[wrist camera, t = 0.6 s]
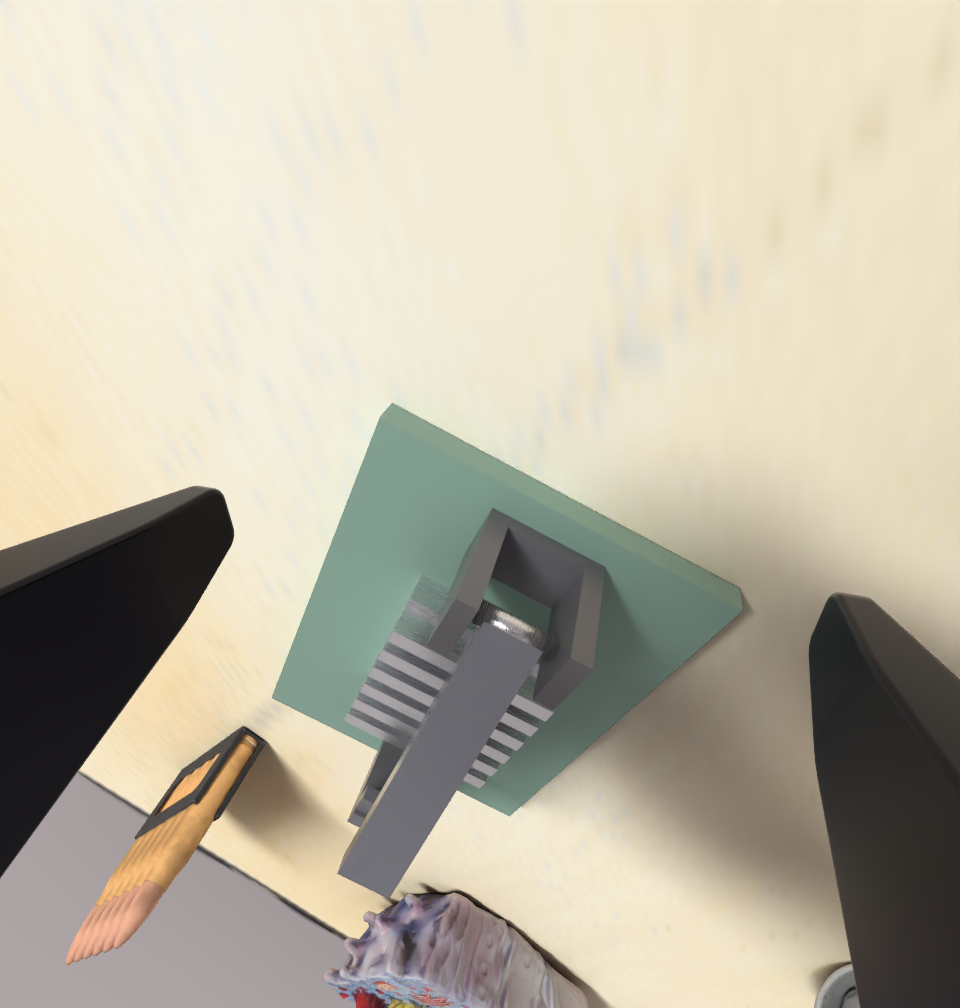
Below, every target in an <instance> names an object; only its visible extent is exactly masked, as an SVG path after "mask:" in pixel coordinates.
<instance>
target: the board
mask: <svg viewBox="0 0 960 1008" xmlns="http://www.w3.org/2000/svg"><path fill="white" fill-rule="evenodd" d="M492 508H495V509H497V510H498V511H500V512H502V513H504V514H506V515H508V516H510V517H512V518H514V519H515V520H517V521H519V522H521V523H523V524H525V525H527V526H529V527H531V528H533V529H534V530H536V531H538V532H540V533H542V534H544V535H546V536H548V537H550V538H551V539H553V540H555V541H557V542H559V543H561V544H563V545H565V546H567V547H569V548H570V549H572V550H574V551H576V552H578V553H580V554H582V555H584V556H586V557H587V558H589V559H591V560H593V561H595V562H597V563H599V564H601V565H603V566H605V574H604V583H603V591H602V599H601V608H600V616H599V624H598V633H597V641H596V649H595V658H594V666H593V670H592V671H591V672H590V673H589V674H588V675H587V676H586V677H585V678H584V679H583V680H582V682H581V683H580V684H579V685H578V686H577V687H576V688H575V689H574V690H573V691H572V692H571V693H570V694H569V695H568V696H567V697H566V698H565V699H564V700H563V701H562V702H561V703H560V704H559V705H558V706H557V707H556V708H555V709H554V713H553V714H552V715H551V716H550V718H549V719H548V720H547V721H546V722H545V721H543V720H541V719H540V723H539V728H538V730H537V731H536V732H535V733H534V734H533V735H532V736H531V737H530V736H528V735H526V736H525V741H524V744H523V745H522V746H521V747H520V748H519V749H518V750H517V751H516V750H514V749H512V753H511V757H510V758H509V759H508V760H507V761H506V762H505V763H504V764H502V763H499V767H498V770H497V771H496V772H495V773H494V774H493V775H492V776H489V775H488V776H487V780H486V783H485V784H484V785H483V786H482V787H481V788H480V789H479V788H477V787H475V786H473V785H471V784H469V783H467V782H465V781H462V782H461V784H460V786H459V787H458V789H457V790H458V791H460V792H462V793H464V794H466V795H468V796H470V797H472V798H474V799H476V800H478V801H480V802H482V803H484V804H486V805H488V806H490V807H492V808H494V809H496V810H498V811H500V812H502V813H504V814H506V815H508V816H511V815H512V814H513V813H514V812H515V811H516V810H517V809H518V808H520V807H521V806H522V805H523V804H524V803H525V802H526V801H528V800H529V799H530V798H531V797H532V796H533V795H534V794H536V793H537V792H538V791H539V790H540V789H541V788H542V787H543V786H545V785H546V784H547V783H548V782H549V781H550V780H551V779H553V778H554V777H555V776H556V775H557V774H558V773H559V772H560V771H562V770H563V769H564V768H565V767H566V766H567V765H568V764H570V763H571V762H572V761H573V760H574V759H575V758H576V757H577V756H579V755H580V754H581V753H582V752H583V751H584V750H585V749H587V748H588V747H589V746H590V745H591V744H592V743H593V742H595V741H596V740H597V739H598V738H599V737H600V736H601V735H602V734H604V733H605V732H606V731H607V730H608V729H609V728H610V727H612V726H613V725H614V724H615V723H616V722H617V721H618V720H619V719H621V718H622V717H623V716H624V715H625V714H626V713H627V712H629V711H630V710H631V709H632V708H633V707H634V706H635V705H636V704H638V703H639V702H640V701H641V700H642V699H643V698H644V697H646V696H647V695H648V694H649V693H650V692H651V691H652V690H653V689H655V688H656V687H657V686H658V685H659V684H660V683H661V682H663V681H664V680H665V679H666V678H667V677H668V676H669V675H671V674H672V673H673V672H674V671H675V670H676V669H677V668H678V667H680V666H681V665H682V664H683V663H684V662H685V661H686V660H688V659H689V658H690V657H691V656H692V655H693V654H694V653H695V652H697V651H698V650H699V649H700V648H701V647H702V646H703V645H705V644H706V643H707V642H708V641H709V640H710V639H711V638H712V637H714V636H715V635H716V634H717V633H718V632H719V631H720V630H722V629H723V628H724V627H725V626H726V625H727V624H728V623H730V622H731V621H732V620H733V619H734V618H735V617H736V616H737V615H739V614H740V613H741V612H742V611H743V604H742V598H741V591H740V588H738V587H736V586H734V585H732V584H731V583H729V582H727V581H725V580H723V579H721V578H719V577H717V576H716V575H714V574H712V573H710V572H708V571H706V570H704V569H702V568H700V567H699V566H697V565H695V564H693V563H691V562H689V561H687V560H685V559H684V558H682V557H680V556H678V555H676V554H674V553H672V552H670V551H669V550H667V549H665V548H663V547H661V546H659V545H657V544H655V543H654V542H652V541H650V540H648V539H646V538H644V537H642V536H640V535H639V534H637V533H635V532H633V531H631V530H629V529H627V528H625V527H624V526H622V525H620V524H618V523H616V522H614V521H612V520H610V519H609V518H607V517H605V516H603V515H601V514H599V513H597V512H595V511H593V510H592V509H590V508H588V507H586V506H584V505H582V504H580V503H578V502H577V501H575V500H573V499H571V498H569V497H567V496H565V495H563V494H562V493H560V492H558V491H556V490H554V489H552V488H550V487H548V486H547V485H545V484H543V483H541V482H539V481H537V480H535V479H533V478H532V477H530V476H528V475H526V474H524V473H522V472H520V471H518V470H517V469H515V468H513V467H511V466H509V465H507V464H505V463H503V462H502V461H500V460H498V459H496V458H494V457H492V456H490V455H488V454H487V453H485V452H483V451H481V450H479V449H477V448H475V447H473V446H471V445H470V444H468V443H466V442H464V441H462V440H460V439H458V438H456V437H455V436H453V435H451V434H449V433H447V432H445V431H443V430H441V429H440V428H438V427H436V426H434V425H432V424H430V423H428V422H426V421H425V420H423V419H421V418H419V417H417V416H415V415H413V414H411V413H410V412H408V411H406V410H404V409H402V408H400V407H398V406H396V405H395V404H393V403H392V404H391V405H390V406H389V407H388V408H387V410H386V411H385V412H384V413H383V414H382V415H381V417H380V418H379V421H378V423H377V426H376V429H375V431H374V434H373V436H372V439H371V442H370V444H369V447H368V449H367V452H366V455H365V457H364V460H363V462H362V465H361V467H360V470H359V473H358V475H357V478H356V480H355V483H354V486H353V488H352V491H351V493H350V496H349V499H348V501H347V504H346V506H345V509H344V512H343V514H342V517H341V519H340V522H339V524H338V527H337V530H336V532H335V535H334V537H333V540H332V543H331V545H330V548H329V550H328V553H327V556H326V558H325V561H324V563H323V566H322V569H321V571H320V574H319V576H318V579H317V582H316V584H315V587H314V589H313V592H312V594H311V597H310V600H309V602H308V605H307V607H306V610H305V613H304V615H303V618H302V620H301V623H300V626H299V628H298V631H297V633H296V636H295V639H294V641H293V644H292V646H291V649H290V651H289V654H288V657H287V659H286V662H285V664H284V667H283V670H282V672H281V675H280V677H279V680H278V683H277V685H276V688H275V690H274V693H273V696H272V698H273V699H275V700H277V701H279V702H281V703H283V704H285V705H287V706H289V707H291V708H293V709H295V710H297V711H299V712H301V713H303V714H305V715H307V716H309V717H311V718H313V719H315V720H317V721H319V722H321V723H323V724H325V725H327V726H329V727H331V728H333V729H335V730H337V731H339V732H341V733H343V734H345V735H347V736H349V737H351V738H353V739H355V740H357V741H359V742H361V743H363V744H365V745H367V746H369V747H371V748H373V749H375V750H377V751H378V749H379V747H380V744H381V742H382V740H381V739H379V738H377V737H375V736H373V735H371V734H369V733H367V732H365V731H363V730H361V729H359V728H357V727H355V726H353V725H351V724H349V723H347V722H345V721H344V719H345V717H346V715H347V713H348V711H349V709H350V707H351V705H352V703H353V701H354V699H355V697H356V695H357V693H358V691H359V689H360V687H361V685H362V683H363V681H364V679H365V677H366V675H367V673H368V671H369V670H370V668H371V666H372V664H373V662H374V660H375V659H376V657H377V655H378V653H379V651H380V650H381V648H382V646H383V644H384V642H385V641H386V639H387V637H388V635H389V633H390V631H391V630H392V628H393V626H394V624H395V622H396V621H397V619H398V617H399V615H400V613H401V611H402V610H403V608H404V606H405V604H406V602H407V601H408V599H409V597H410V595H411V593H412V592H413V590H414V588H415V586H416V584H417V582H418V581H419V579H420V577H421V575H422V574H423V575H425V576H426V577H428V578H430V579H432V580H434V581H436V582H438V583H440V584H442V585H444V586H446V587H448V588H451V586H452V583H453V581H454V579H455V576H456V574H457V572H458V569H459V567H460V565H461V562H462V560H463V557H464V555H465V553H466V551H467V549H468V548H469V546H470V544H471V543H472V541H473V539H474V538H475V536H476V534H477V533H478V531H479V529H480V528H481V526H482V524H483V523H484V521H485V519H486V518H487V516H488V514H489V513H490V511H491V509H492ZM483 599H484V600H486V601H488V602H490V603H492V604H494V605H496V606H498V607H500V608H501V609H503V610H505V611H507V612H509V613H511V614H513V615H515V616H517V617H519V618H521V619H523V620H525V621H527V622H528V623H530V624H532V625H534V626H536V627H538V628H540V629H542V630H544V631H546V632H547V628H548V624H549V619H550V614H551V610H552V609H551V608H549V607H547V606H545V605H543V604H541V603H539V602H537V601H536V600H534V599H532V598H530V597H528V596H526V595H524V594H522V593H520V592H518V591H516V590H514V589H512V588H511V587H509V586H507V585H505V584H503V583H501V582H499V581H497V580H495V579H493V578H491V577H490V580H489V583H488V586H487V589H486V591H485V594H484V597H483Z"/></svg>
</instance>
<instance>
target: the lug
mask: <svg viewBox="0 0 960 1008" xmlns="http://www.w3.org/2000/svg"><path fill="white" fill-rule="evenodd" d="M403 752H404V751H403V750H401V749H399V748H397V747H395V746H393V745H391V744H389V743H387V742H385V741H383V740H382V742H381V744H380V747H379V749H378V751H377V754H376V756H375V758H374V761H373V763H372V765H371V768H370V770H369V772H368V775H367V777H366V779H365V781H364V784H363V786H362V788H361V791H360V793H359V795H358V798H357V800H356V802H355V805H354V807H353V809H352V812H351V814H350V816H349V819H348V821H347V822H349V823H352V824H354V825H356V826H358V827H360V826H361V825H362V823H363V821H364V819H365V818H366V816H367V814H368V812H369V811H370V809H371V807H372V806H373V804H374V802H375V800H376V799H377V797H378V795H379V794H380V792H381V790H382V788H383V787H384V785H385V783H386V781H387V780H388V778H389V776H390V775H391V773H392V771H393V769H394V768H395V766H396V764H397V762H398V761H399V759H400V757H401V756H402V754H403Z"/></svg>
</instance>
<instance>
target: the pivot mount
mask: <svg viewBox="0 0 960 1008" xmlns="http://www.w3.org/2000/svg"><path fill="white" fill-rule="evenodd" d="M604 574H605V566H603V565H601V564H599V563H597V562H595V561H593V560H591V559H589V558H587V557H586V556H584V555H582V554H580V553H578V552H576V551H574V550H572V549H570V548H569V547H567V546H565V545H563V544H561V543H559V542H557V541H555V540H553V539H551V538H550V537H548V536H546V535H544V534H542V533H540V532H538V531H536V530H534V529H533V528H531V527H529V526H527V525H525V524H523V523H521V522H519V521H517V520H515V519H514V518H512V517H510V516H508V515H506V514H504V513H502V512H500V511H498V510H497V509H495V508H492V509H491V511H490V513H489V514H488V516H487V518H486V519H485V521H484V523H483V524H482V526H481V528H480V529H479V531H478V533H477V534H476V536H475V538H474V539H473V541H472V543H471V544H470V546H469V548H468V549H467V551H466V553H465V555H464V557H463V560H462V562H461V565H460V567H459V569H458V572H457V574H456V576H455V579H454V581H453V583H452V586H451V588H450V590H449V593H448V595H447V597H446V600H445V602H444V604H443V607H442V609H441V611H440V614H439V616H438V619H437V621H436V623H435V626H434V628H433V630H432V633H431V635H430V637H429V640H428V642H427V644H426V646H428V647H430V648H432V649H434V650H436V651H438V652H439V653H441V654H443V655H445V656H448V655H449V653H450V652H451V651H452V649H453V648H454V646H455V645H456V643H457V642H458V640H459V639H460V637H461V636H462V634H463V633H464V631H465V630H466V629H467V627H468V626H469V624H470V623H471V621H472V620H473V618H474V617H475V615H476V614H477V612H478V611H479V608H480V606H481V603H482V600H483V597H484V594H485V591H486V589H487V586H488V583H489V580H490V577H491V578H493V579H495V580H497V581H499V582H501V583H503V584H505V585H507V586H509V587H511V588H512V589H514V590H516V591H518V592H520V593H522V594H524V595H526V596H528V597H530V598H532V599H534V600H536V601H537V602H539V603H541V604H543V605H545V606H547V607H549V608H551V609H552V610H551V614H550V619H549V624H548V628H547V632H548V633H550V634H552V635H554V636H556V637H557V644H556V647H555V649H554V652H553V653H552V655H551V657H550V658H549V659H548V660H547V661H546V662H545V661H543V660H541V661H540V666H539V670H538V675H537V680H536V684H535V689H534V694H533V698H532V700H534V701H535V702H537V703H539V704H541V705H543V706H545V707H547V708H549V709H551V710H554V709H555V708H556V707H557V706H558V705H559V704H560V703H561V702H562V701H563V700H564V699H565V698H566V697H567V696H568V695H569V694H570V693H571V692H572V691H573V690H574V689H575V688H576V687H577V686H578V685H579V684H580V683H581V682H582V680H583V679H584V678H585V677H586V676H587V675H588V674H589V673H590V672H591V671H592V670H593V666H594V658H595V649H596V641H597V633H598V624H599V616H600V608H601V599H602V591H603V583H604Z"/></svg>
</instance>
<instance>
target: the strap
mask: <svg viewBox="0 0 960 1008" xmlns="http://www.w3.org/2000/svg"><path fill="white" fill-rule="evenodd" d="M471 624H473V625H475V626H476V628H475V630H474V631H473V633H472V635H471V636H470V638H469V640H468V642H467V643H466V645H465V647H464V649H463V650H462V652H461V654H460V655H459V657H458V659H457V661H456V662H455V664H454V666H453V668H452V669H451V671H450V673H449V674H448V676H447V678H446V680H445V681H444V683H443V685H442V687H441V688H440V690H439V692H438V693H437V695H436V697H435V699H434V700H433V702H432V704H431V706H430V707H429V709H428V711H427V712H426V714H425V716H424V718H423V719H422V721H421V723H420V724H419V726H418V728H417V730H416V731H415V733H414V735H413V737H412V738H411V740H410V742H409V743H408V745H407V747H406V749H405V750H404V752H403V754H402V756H401V757H400V759H399V761H398V762H397V764H396V766H395V768H394V769H393V771H392V773H391V775H390V776H389V778H388V780H387V781H386V783H385V785H384V787H383V788H382V790H381V792H380V794H379V795H378V797H377V799H376V800H375V802H374V804H373V806H372V807H371V809H370V811H369V812H368V814H367V816H366V818H365V819H364V821H363V823H362V825H361V826H360V828H359V830H358V831H357V833H356V835H355V837H354V838H353V840H352V842H351V844H350V845H349V847H348V849H347V850H346V852H345V854H344V856H343V859H342V862H341V865H340V868H339V870H338V873H337V874H339V875H341V876H343V877H345V878H347V879H349V880H351V881H354V882H356V883H358V884H360V885H362V886H364V887H366V888H368V889H370V890H372V891H374V892H376V893H378V894H380V895H382V896H385V897H387V898H390V896H391V895H392V893H393V891H394V890H395V888H396V887H397V885H398V883H399V882H400V880H401V879H402V877H403V875H404V874H405V872H406V871H407V869H408V867H409V866H410V864H411V863H412V861H413V859H414V858H415V856H416V855H417V853H418V851H419V850H420V848H421V847H422V845H423V843H424V842H425V840H426V839H427V837H428V835H429V834H430V832H431V831H432V829H433V827H434V826H435V824H436V823H437V821H438V819H439V818H440V816H441V815H442V813H443V811H444V810H445V808H446V807H447V805H448V803H449V802H450V800H451V799H452V797H453V795H454V794H455V792H456V790H457V789H458V787H459V786H460V784H461V782H462V781H463V779H464V778H465V776H466V774H467V773H468V771H469V770H470V768H471V766H472V765H473V763H474V762H475V760H476V758H477V757H478V755H479V754H480V752H481V750H482V749H483V747H484V746H485V744H486V742H487V741H488V739H489V738H490V736H491V734H492V733H493V731H494V730H495V728H496V726H497V725H498V723H499V722H500V720H501V718H502V717H503V715H504V714H505V712H506V710H507V709H508V707H509V706H510V704H511V702H512V701H513V699H514V698H515V696H516V694H517V693H518V691H519V690H520V688H521V686H522V685H523V683H524V682H525V680H526V678H527V677H528V675H529V674H530V672H531V670H532V669H533V667H534V666H535V664H536V662H537V661H538V659H541V660H543V661H545V662H546V661H547V660H548V659H549V658H550V657H551V655H552V653H553V652H554V649H555V647H556V644H557V637H556V636H554V635H552V634H550V633H548V632H546V631H544V630H542V629H540V628H538V627H536V626H534V625H532V624H530V623H528V622H527V621H525V620H523V619H521V618H519V617H517V616H515V615H513V614H511V613H509V612H507V611H505V610H503V609H501V608H500V607H498V606H496V605H494V604H492V603H490V602H488V601H486V600H484V599H483V600H482V603H481V606H480V608H479V611H478V612H477V614H476V615H475V617H474V618H473V620H472V621H471Z"/></svg>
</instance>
